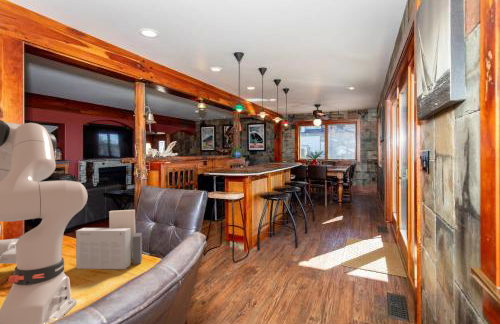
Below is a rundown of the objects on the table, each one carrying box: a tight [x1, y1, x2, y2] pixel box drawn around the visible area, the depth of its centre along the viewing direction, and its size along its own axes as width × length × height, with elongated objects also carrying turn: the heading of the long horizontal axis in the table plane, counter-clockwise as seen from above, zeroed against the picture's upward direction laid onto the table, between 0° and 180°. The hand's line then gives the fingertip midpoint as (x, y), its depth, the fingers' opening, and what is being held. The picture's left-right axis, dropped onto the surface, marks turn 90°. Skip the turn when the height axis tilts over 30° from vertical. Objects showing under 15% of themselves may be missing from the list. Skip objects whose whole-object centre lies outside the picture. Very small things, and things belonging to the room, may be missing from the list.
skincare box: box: [75, 227, 132, 270], centre depth 115 cm, size 21×6×16 cm, turn 87°
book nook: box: [108, 209, 143, 265], centre depth 120 cm, size 8×13×22 cm, turn 105°
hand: (49, 247), depth 112 cm, fingers open, 8 cm apart
